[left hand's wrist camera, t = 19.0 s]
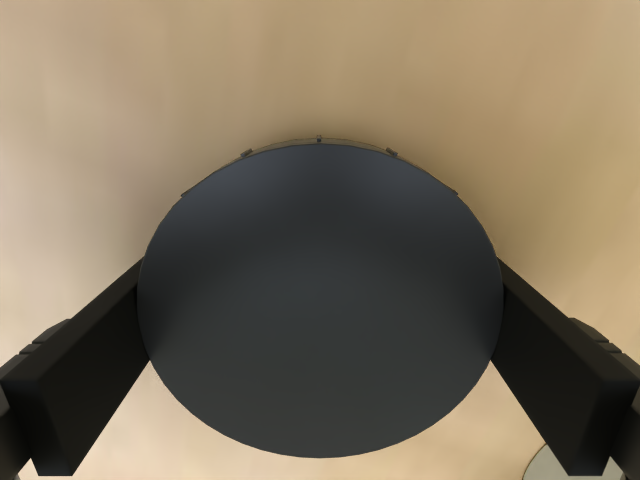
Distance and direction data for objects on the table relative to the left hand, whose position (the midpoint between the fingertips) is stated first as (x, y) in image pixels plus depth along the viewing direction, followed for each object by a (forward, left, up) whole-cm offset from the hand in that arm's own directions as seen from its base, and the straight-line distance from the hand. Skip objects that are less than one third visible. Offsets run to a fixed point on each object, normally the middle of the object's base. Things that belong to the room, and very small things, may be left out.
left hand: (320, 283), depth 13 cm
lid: (0, 0, +3) cm, 3 cm away
